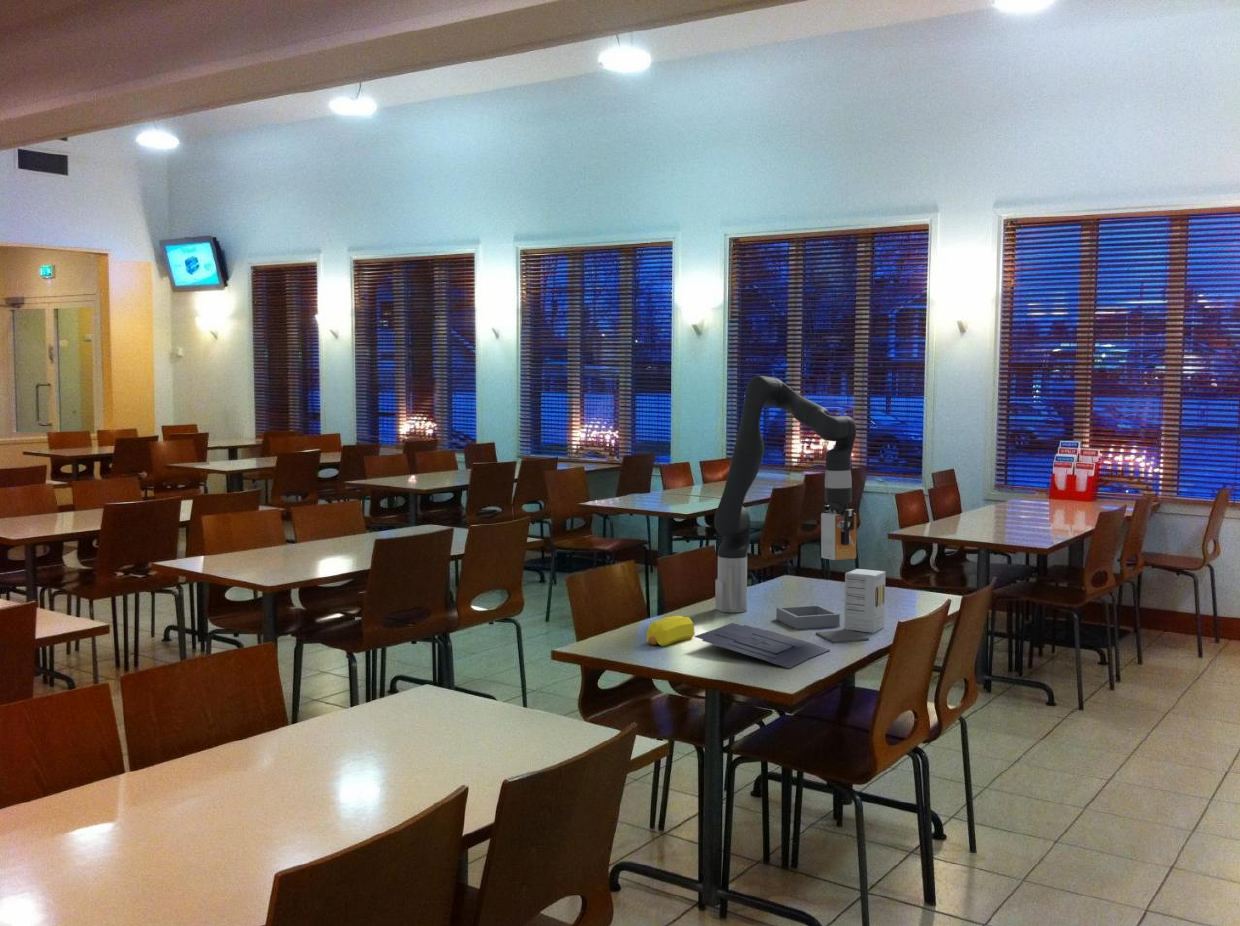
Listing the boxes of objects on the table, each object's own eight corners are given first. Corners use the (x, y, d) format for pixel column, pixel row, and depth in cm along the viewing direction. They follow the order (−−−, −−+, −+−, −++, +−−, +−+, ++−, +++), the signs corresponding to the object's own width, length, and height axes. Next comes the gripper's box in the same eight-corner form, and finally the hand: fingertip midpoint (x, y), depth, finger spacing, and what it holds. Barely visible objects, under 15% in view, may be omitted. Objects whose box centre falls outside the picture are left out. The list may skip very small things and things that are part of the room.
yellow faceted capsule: (639, 645, 302) (661, 649, 297) (639, 621, 302) (661, 625, 297) (679, 633, 316) (701, 637, 311) (679, 610, 315) (701, 614, 310)
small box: (835, 560, 310) (834, 515, 309) (820, 558, 315) (820, 513, 315) (857, 558, 314) (856, 513, 313) (842, 555, 319) (842, 511, 319)
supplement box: (874, 633, 315) (874, 575, 314) (843, 629, 320) (844, 572, 319) (885, 627, 323) (886, 570, 322) (855, 623, 328) (856, 567, 327)
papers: (734, 630, 313) (736, 618, 313) (830, 659, 296) (831, 646, 295) (688, 647, 294) (689, 634, 293) (787, 678, 276) (789, 665, 276)
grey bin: (796, 628, 321) (796, 617, 320) (776, 618, 334) (776, 607, 334) (839, 625, 325) (839, 614, 324) (818, 616, 338) (818, 604, 338)
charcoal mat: (833, 642, 304) (833, 640, 304) (815, 634, 314) (815, 632, 314) (869, 640, 307) (869, 638, 307) (850, 631, 317) (850, 629, 317)
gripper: (862, 487, 308) (863, 545, 309) (837, 483, 321) (838, 539, 322) (838, 488, 305) (839, 547, 306) (814, 484, 319) (815, 541, 320)
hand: (838, 543), depth 314 cm, fingers closed on small box, 7 cm apart
